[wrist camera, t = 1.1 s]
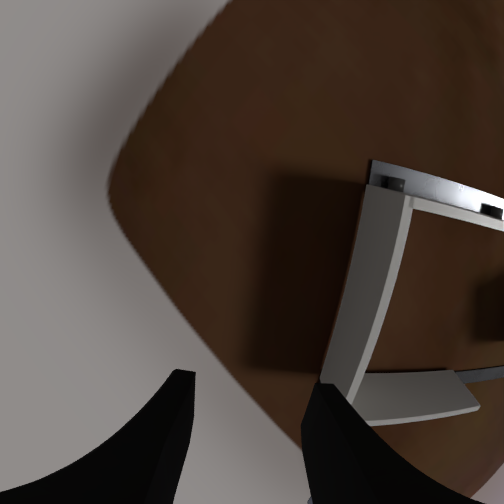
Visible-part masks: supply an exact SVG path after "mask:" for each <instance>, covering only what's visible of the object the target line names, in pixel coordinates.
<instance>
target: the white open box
mask: <svg viewBox="0 0 504 504" xmlns="http://www.w3.org/2000/svg"><path fill="white" fill-rule="evenodd" d="M405 181H406V180H404V179H400V178H396V177H391V176H389V182H388V188H387V189H386V188H382V187H377V186H373V185H368V184H366V190H365V196H364V202H363V207H362V212H361V218H360V223H359V228H358V233H357V238H356V242H355V247H354V252H353V256H352V261H351V265H350V269H349V274H348V278H347V282H346V286H345V290H344V294H343V298H342V302H341V306H340V310H339V313H338V317H337V321H336V324H335V328H334V331H333V335H332V339H331V342H330V345H329V349H328V352H327V355H326V359H325V362H324V365H323V368H322V372H321V375H320V381H321V383H332V384H334V385H335V386H336V387H337V388H338V390H339V391H340V392H341V393H342V395H343V396H344V397H345V398H346V399H347V401H348V402H349V403H350V404H351V405H352V407H353V408H354V409H355V410H356V411H357V413H358V414H359V415H360V416H361V417H362V418H363V419H364V421H365V422H366V423H367V424H368V425H369V426H377V425H388V424H398V423H407V422H415V421H422V420H429V419H436V418H442V417H447V416H453V415H458V414H463V413H468V412H472V411H477V410H478V409H479V407H480V406H481V405H480V404H479V403H478V401H477V400H476V399H475V397H474V396H473V395H472V394H471V392H470V391H469V390H468V388H467V387H466V386H465V385H464V383H463V382H462V381H461V379H460V378H459V377H458V376H457V374H456V373H455V372H454V371H453V370H444V371H429V372H409V373H365V371H366V368H367V366H368V363H369V360H370V358H371V355H372V352H373V350H374V347H375V344H376V341H377V338H378V336H379V333H380V330H381V327H382V324H383V321H384V318H385V315H386V311H387V308H388V305H389V302H390V298H391V295H392V292H393V288H394V285H395V281H396V278H397V274H398V270H399V266H400V263H401V259H402V255H403V251H404V247H405V242H406V238H407V234H408V229H409V225H410V220H411V215H412V210H413V208H414V209H418V210H422V211H427V212H431V213H435V214H440V215H444V216H448V217H452V218H456V219H460V220H464V221H468V222H472V223H475V224H479V225H483V226H486V227H490V228H494V229H497V230H501V231H504V220H502V216H503V211H504V209H502V208H499V207H496V206H492V208H491V213H490V215H486V214H483V213H480V212H476V211H473V210H469V209H466V208H462V207H459V206H455V205H452V204H448V203H444V202H440V201H437V200H433V199H429V198H425V197H421V196H417V195H413V194H408V193H404V187H405Z"/></svg>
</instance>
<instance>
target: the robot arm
mask: <svg viewBox="0 0 504 504" xmlns="http://www.w3.org/2000/svg"><path fill="white" fill-rule="evenodd" d="M195 375H196V372H193V371H186V370H180V369H175V370H174V371H172V373H171V374H170V376H169V377H168V378H167V380H166V381H165V382H164V384H163V385H162V386H161V387H160V389H159V390H158V391H157V392H156V393H155V394H154V396H153V397H152V398H151V399H150V400H149V401H148V402H147V403H146V404H145V406H144V407H143V408H142V409H141V410H140V411H139V412H138V413H137V414H136V415H135V416H134V417H133V418H132V419H131V420H130V421H128V422H127V423H126V424H125V425H124V426H123V427H122V428H121V429H120V430H119V431H117V432H116V433H115V434H114V435H113V436H111V437H110V438H109V439H108V440H106V441H105V442H104V443H102V444H101V445H100V446H99V447H97V448H95V449H94V450H92V451H91V452H89V453H88V454H86V455H85V456H83V457H82V458H80V459H79V460H77V461H75V462H73V463H72V464H70V465H68V466H66V467H64V468H62V469H60V470H58V471H56V472H54V473H52V474H50V475H48V476H46V477H44V478H41V479H39V480H36V481H34V482H31V483H28V484H25V485H22V486H19V487H16V488H13V489H10V490H6V491H2V492H0V504H173V501H174V496H175V493H176V489H177V486H178V482H179V479H180V475H181V471H182V468H183V465H184V461H185V458H186V454H187V450H188V447H189V443H190V438H191V432H192V425H193V419H194V401H195V400H194V399H195ZM301 439H302V452H303V457H304V462H305V468H306V473H307V478H308V483H309V488H310V493H311V497H310V498H309V500H308V504H485V503H482V502H479V501H475V500H473V499H470V498H468V497H466V496H463V495H461V494H459V493H457V492H455V491H453V490H451V489H449V488H447V487H445V486H443V485H441V484H440V483H438V482H436V481H435V480H433V479H432V478H430V477H428V476H427V475H425V474H424V473H422V472H421V471H419V470H418V469H417V468H415V467H414V466H413V465H411V464H410V463H409V462H407V461H406V460H405V459H404V458H402V457H401V456H400V455H399V454H398V453H396V452H395V451H394V450H393V449H392V448H391V447H390V446H389V445H388V444H387V443H386V442H385V441H384V440H383V439H381V438H380V437H379V436H378V434H377V433H376V432H375V431H374V430H373V429H372V428H371V427H370V426H369V425H368V424H367V423H366V422H365V421H364V419H363V418H362V417H361V416H360V415H359V414H358V413H357V411H356V410H355V409H354V408H353V407H352V405H351V404H350V403H349V402H348V401H347V399H346V398H345V397H344V396H343V395H342V393H341V392H340V391H339V390H338V388H337V387H336V386H335V385H334V384H332V383H315V385H314V388H313V391H312V394H311V397H310V400H309V403H308V406H307V409H306V412H305V415H304V418H303V420H302V423H301Z"/></svg>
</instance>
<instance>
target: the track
mask: <svg viewBox="0 0 504 504" xmlns="http://www.w3.org/2000/svg"><path fill="white" fill-rule="evenodd" d="M389 176H391V177H396V178H400V179H404V180H406V181H405V187H404V193H409V194H413V195H417V196H421V197H425V198H429V199H433V200H437V201H441V202H444V203H448V204H452V205H456V206H459V207H463V208H466V209H470V210H473V211H477V212H480V213H483V214H487V215H490V213H491V208H492V206H496V207H499V208H502V209H504V199H502V198H499V197H496V196H494V195H491V194H488V193H485V192H482V191H480V190H477V189H474V188H471V187H468V186H465V185H462V184H459V183H456V182H452V181H449V180H446V179H443V178H439V177H436V176H433V175H429V174H426V173H422V172H419V171H415V170H411V169H408V168H404V167H400V166H396V165H392V164H388V163H384V162H380V161H376V160H372V162H371V169H370V175H369V181H368V185H373V186H378V187H382V188H388V182H389ZM502 219H503V220H504V211H503V216H502ZM454 372H455V373H456V374H457V376H458V377H459V378H460V379H461V381H462V382H463V383H472V382H478V381H485V380H491V379H497V378H502V377H504V365H503V366H496V367H489V368H481V369H472V370H463V371H454ZM319 383H321V381H320V382H319Z"/></svg>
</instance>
